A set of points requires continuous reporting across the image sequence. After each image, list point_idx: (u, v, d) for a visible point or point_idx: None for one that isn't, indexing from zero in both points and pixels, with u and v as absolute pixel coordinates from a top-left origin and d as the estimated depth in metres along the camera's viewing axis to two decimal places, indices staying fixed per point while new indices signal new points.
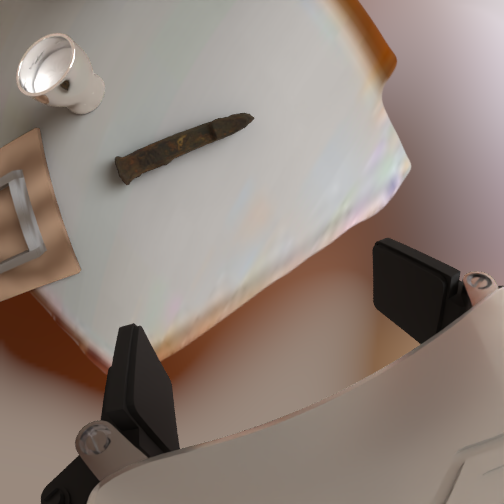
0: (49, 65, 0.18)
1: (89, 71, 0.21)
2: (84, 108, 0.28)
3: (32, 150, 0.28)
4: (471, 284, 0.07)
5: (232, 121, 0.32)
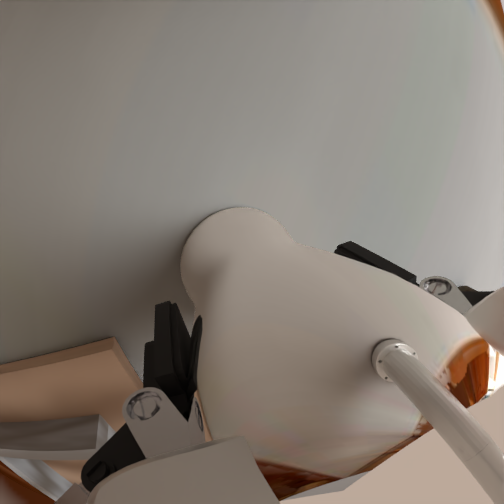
0: None
1: None
2: None
3: (116, 390, 0.14)
4: (429, 291, 0.07)
5: None
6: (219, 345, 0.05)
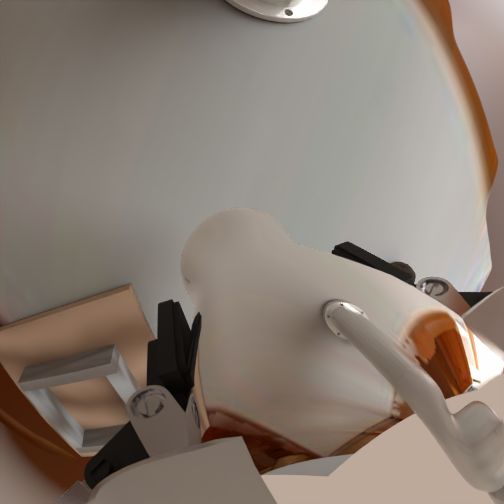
0: None
1: None
2: None
3: (129, 321, 0.23)
4: (426, 292, 0.07)
5: None
6: (217, 345, 0.05)
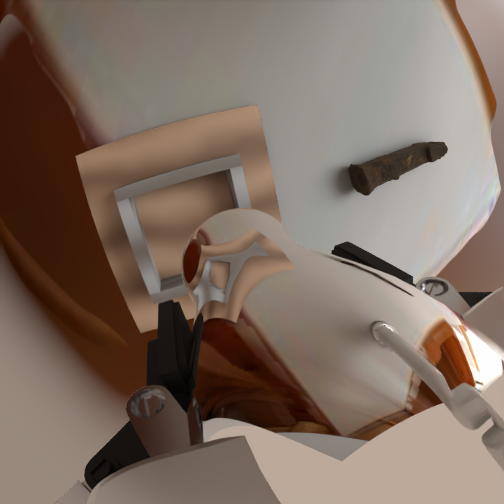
0: None
1: None
2: None
3: (251, 132, 0.28)
4: (426, 292, 0.07)
5: (440, 149, 0.33)
6: (219, 348, 0.05)
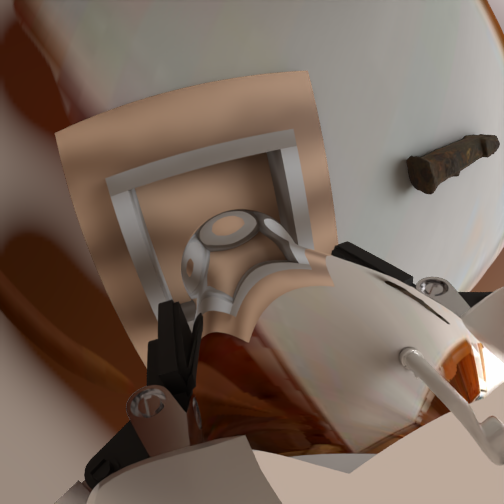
0: None
1: None
2: None
3: (301, 105, 0.20)
4: (426, 292, 0.07)
5: (493, 142, 0.24)
6: (219, 349, 0.05)
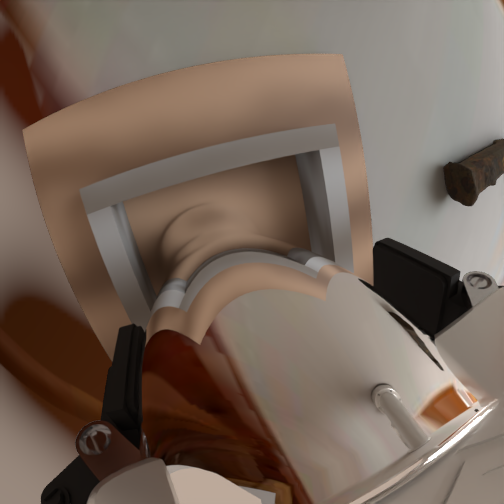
0: None
1: None
2: None
3: (336, 95, 0.15)
4: (471, 284, 0.07)
5: None
6: (161, 305, 0.06)
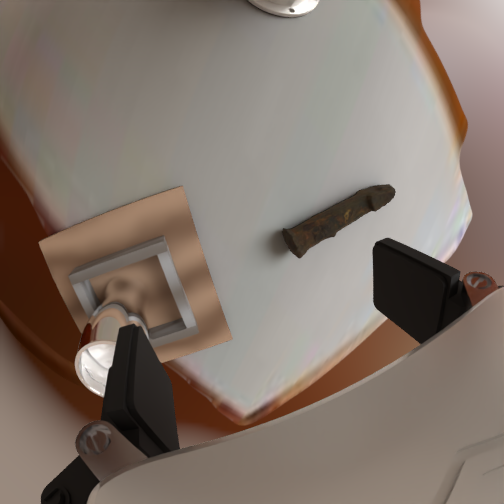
0: None
1: (151, 340, 0.25)
2: None
3: (179, 213, 0.32)
4: (471, 284, 0.07)
5: (384, 195, 0.37)
6: (88, 320, 0.23)
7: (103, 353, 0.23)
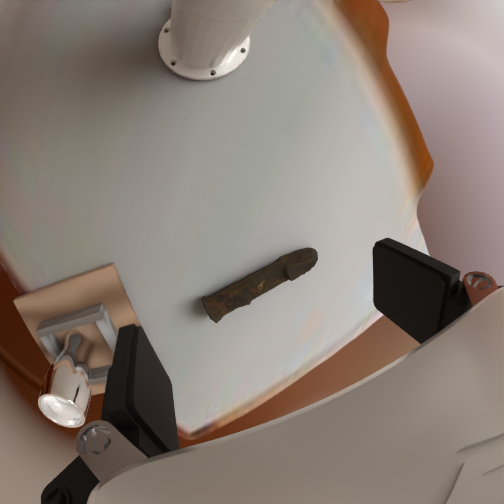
0: None
1: (90, 388, 0.30)
2: None
3: (111, 286, 0.37)
4: (471, 284, 0.07)
5: (303, 265, 0.41)
6: None
7: None
